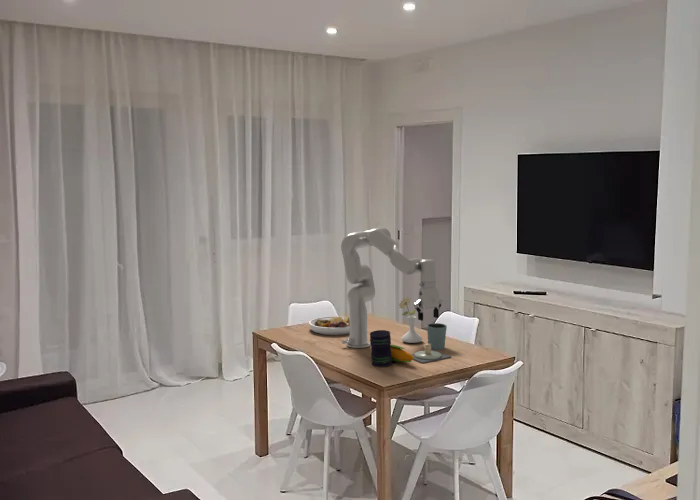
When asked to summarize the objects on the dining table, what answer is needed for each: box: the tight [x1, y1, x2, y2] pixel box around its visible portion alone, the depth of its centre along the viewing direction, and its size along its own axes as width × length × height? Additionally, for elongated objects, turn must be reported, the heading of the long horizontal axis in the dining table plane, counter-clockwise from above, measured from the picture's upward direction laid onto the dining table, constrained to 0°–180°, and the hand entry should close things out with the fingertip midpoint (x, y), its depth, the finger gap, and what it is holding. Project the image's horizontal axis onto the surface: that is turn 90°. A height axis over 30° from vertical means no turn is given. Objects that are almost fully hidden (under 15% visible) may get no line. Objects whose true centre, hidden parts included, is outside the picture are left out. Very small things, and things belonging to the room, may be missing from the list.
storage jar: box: [369, 329, 393, 368], centre depth 315 cm, size 10×10×15 cm
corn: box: [390, 344, 414, 363], centre depth 320 cm, size 7×8×20 cm
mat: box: [410, 349, 452, 364], centre depth 328 cm, size 18×14×1 cm
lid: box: [414, 342, 442, 360], centre depth 328 cm, size 13×13×6 cm
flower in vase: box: [398, 296, 423, 344], centre depth 356 cm, size 13×11×25 cm
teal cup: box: [426, 322, 447, 351], centre depth 344 cm, size 10×10×12 cm
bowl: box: [308, 315, 349, 336], centre depth 386 cm, size 30×30×8 cm
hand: (428, 318), depth 327 cm, fingers open, 9 cm apart
